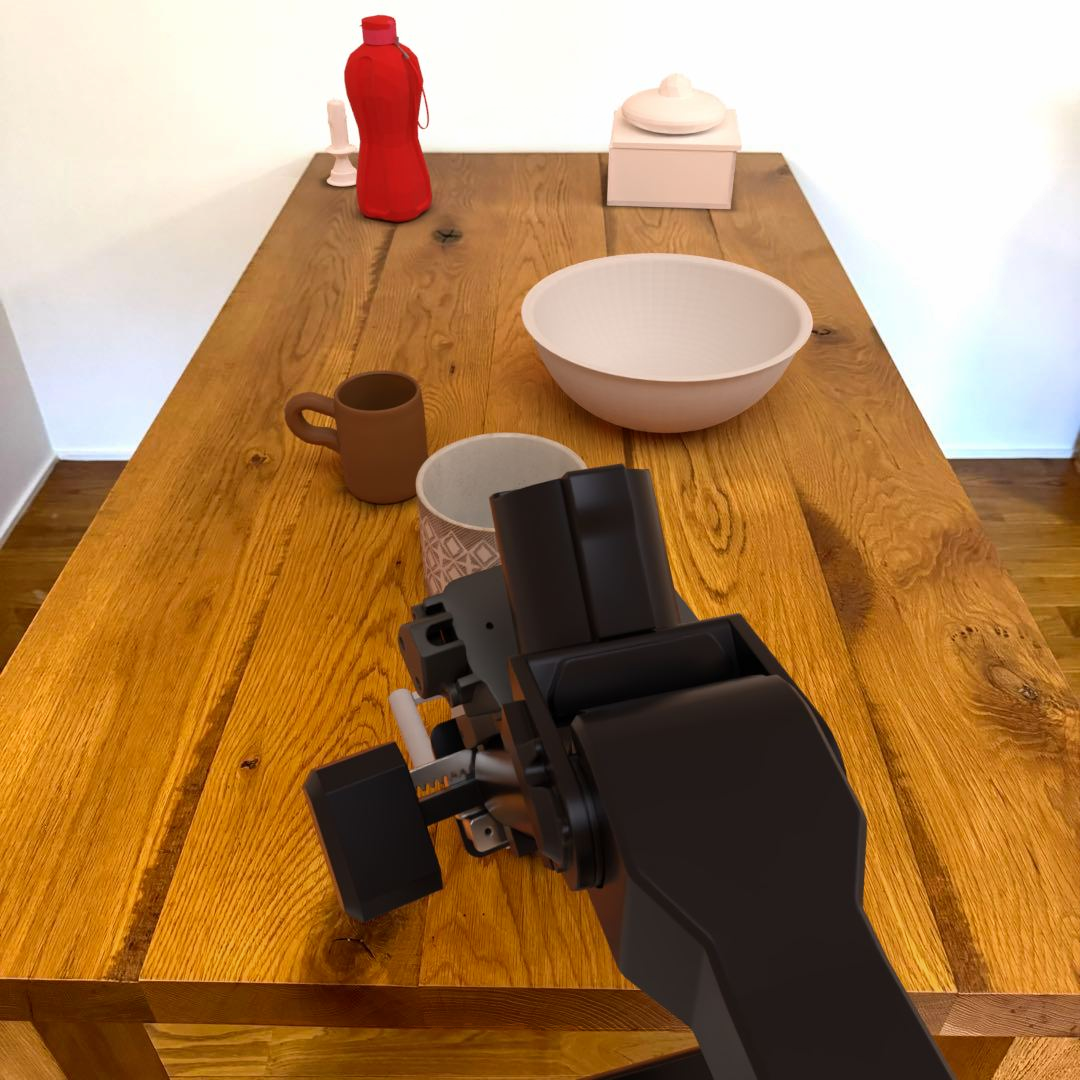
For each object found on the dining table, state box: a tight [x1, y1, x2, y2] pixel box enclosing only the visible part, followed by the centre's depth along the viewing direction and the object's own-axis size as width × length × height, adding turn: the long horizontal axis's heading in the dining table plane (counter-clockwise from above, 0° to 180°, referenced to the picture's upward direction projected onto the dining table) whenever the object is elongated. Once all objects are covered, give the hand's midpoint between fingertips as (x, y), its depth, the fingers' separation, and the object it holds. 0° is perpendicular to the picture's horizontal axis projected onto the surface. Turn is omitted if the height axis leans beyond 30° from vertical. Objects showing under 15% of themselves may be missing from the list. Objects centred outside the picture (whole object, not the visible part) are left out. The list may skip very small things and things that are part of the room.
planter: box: [416, 432, 589, 597], centre depth 79 cm, size 13×13×10 cm
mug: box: [284, 369, 429, 505], centre depth 90 cm, size 12×8×9 cm, turn 90°
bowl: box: [520, 252, 814, 434], centre depth 101 cm, size 27×27×10 cm
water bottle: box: [343, 14, 433, 223], centre depth 138 cm, size 9×11×25 cm
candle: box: [324, 97, 358, 188], centre depth 153 cm, size 5×5×12 cm
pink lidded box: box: [606, 72, 743, 210], centre depth 149 cm, size 18×18×16 cm
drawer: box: [388, 688, 510, 850], centre depth 64 cm, size 17×10×7 cm, turn 112°
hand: (483, 760), depth 52 cm, fingers closed
